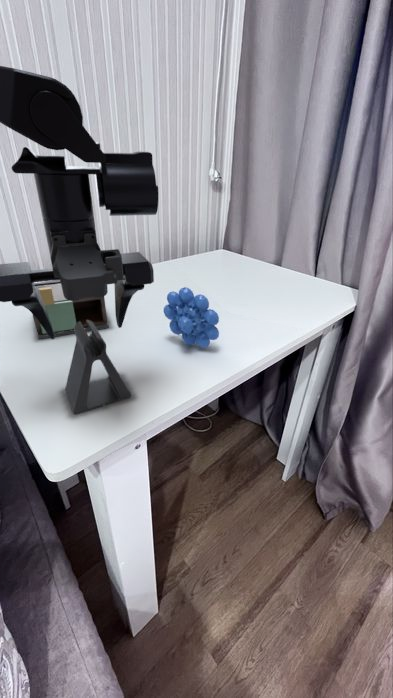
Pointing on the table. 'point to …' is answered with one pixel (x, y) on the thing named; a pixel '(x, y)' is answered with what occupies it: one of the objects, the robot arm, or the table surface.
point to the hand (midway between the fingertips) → (87, 332)
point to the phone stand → (78, 382)
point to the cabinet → (78, 312)
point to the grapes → (191, 317)
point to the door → (58, 312)
